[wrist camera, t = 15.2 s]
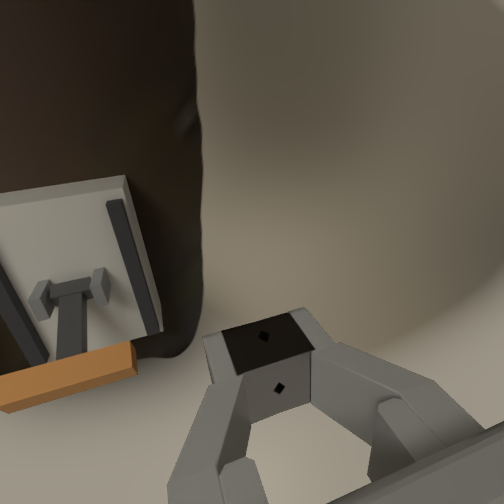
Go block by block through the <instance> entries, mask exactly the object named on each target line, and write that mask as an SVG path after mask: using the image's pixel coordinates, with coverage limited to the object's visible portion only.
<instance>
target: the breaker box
mask: <svg viewBox="0 0 504 504" xmlns="http://www.w3.org/2000/svg"><path fill="white" fill-rule="evenodd" d="M121 198H122V199H123V203H124V206H125V210H126V213H127V217H128V220H129V223H130V227H131V230H132V234H133V237H134V241H135V244H136V247H137V251H138V254H139V258H140V261H141V265H142V268H143V271H144V275H145V278H146V282H147V285H148V289H149V292H150V295H151V299H152V302H153V306H154V309H155V313H156V316H157V319H158V323H159V328H160V332H162V331H164V330H163V321H162V311H161V303H160V299H159V296H158V292H157V288H156V285H155V281H154V278H153V274H152V270H151V267H150V263H149V260H148V256H147V252H146V249H145V245H144V242H143V238H142V234H141V231H140V227H139V223H138V220H137V216H136V213H135V209H134V205H133V202H132V198H131V195H130V191H129V187H128V184H127V180H126V177H125V175H120V176H113V177H107V178H100V179H93V180H87V181H80V182H73V183H67V184H60V185H53V186H47V187H40V188H33V189H27V190H20V191H13V192H7V193H0V263H1V265H2V267H3V269H4V271H5V273H6V274H7V276H8V278H9V280H10V282H11V284H12V286H13V287H14V289H15V291H16V293H17V295H18V297H19V299H20V300H21V302H22V304H23V306H24V308H25V310H26V312H27V313H28V315H29V317H30V319H31V321H32V323H33V325H34V326H35V328H36V330H37V332H38V334H39V336H40V338H41V339H42V341H43V343H44V345H45V347H46V349H47V351H48V352H49V354H50V356H49V359H48V362H47V363H49V362H53V361H56V347H57V328H58V309H59V307H56V305H55V304H54V303H53V302H52V301H51V300H50V299H49V297H50V285H53V284H57V283H62V282H66V281H71V280H75V279H80V278H85V277H89V276H90V277H91V283H90V286H89V287H90V290H91V292H92V295H93V297H94V298H93V299H88V300H87V352H89V351H93V350H97V349H100V348H104V347H107V346H111V345H115V344H118V343H122V342H126V341H129V340H133V339H137V338H140V337H144V336H147V333H146V330H145V327H144V323H143V320H142V317H141V314H140V311H139V308H138V305H137V302H136V299H135V295H134V292H133V289H132V286H131V283H130V280H129V277H128V274H127V271H126V267H125V264H124V261H123V258H122V255H121V252H120V249H119V246H118V243H117V239H116V236H115V233H114V230H113V227H112V224H111V221H110V218H109V215H108V211H107V208H106V202H107V201H109V200H115V199H121Z"/></svg>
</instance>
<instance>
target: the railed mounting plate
mask: <svg viewBox="0 0 504 504" xmlns="http://www.w3.org/2000/svg"><path fill="white" fill-rule="evenodd" d="M106 208H107V211H108V215H109V218H110V221H111V224H112V227H113V230H114V233H115V236H116V239H117V243H118V246H119V249H120V252H121V255H122V258H123V261H124V264H125V267H126V271H127V274H128V277H129V280H130V283H131V286H132V289H133V292H134V295H135V299H136V302H137V305H138V308H139V311H140V314H141V317H142V320H143V323H144V327H145V330H146V333H147V336H151V335H154V334H158V333H160V328H159V323H158V319H157V316H156V313H155V309H154V306H153V302H152V299H151V295H150V292H149V289H148V285H147V282H146V278H145V275H144V271H143V268H142V265H141V261H140V258H139V254H138V251H137V247H136V244H135V241H134V237H133V234H132V230H131V227H130V223H129V220H128V217H127V213H126V210H125V206H124V203H123V199H122V198H121V199H115V200H109V201H107V202H106ZM0 315H1V316H2V318H3V320H4V321H5V323H6V325H7V326H8V328H9V330H10V332H11V333H12V335H13V337H14V338H15V340H16V342H17V343H18V345H19V347H20V348H21V350H22V352H23V354H24V355H25V357H26V359H27V360H28V362H29V364H30V365H31V367H35V366H38V365H42V364H45V363H47V362H48V359H49V356H50V354H49V352H48V351H47V349H46V347H45V345H44V343H43V341H42V339H41V338H40V336H39V334H38V332H37V330H36V328H35V326H34V325H33V323H32V321H31V319H30V317H29V315H28V313H27V312H26V310H25V308H24V306H23V304H22V302H21V300H20V299H19V297H18V295H17V293H16V291H15V289H14V287H13V286H12V284H11V282H10V280H9V278H8V276H7V274H6V273H5V271H4V269H3V267H2V265H1V263H0Z"/></svg>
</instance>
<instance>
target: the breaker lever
mask: <svg viewBox="0 0 504 504" xmlns="http://www.w3.org/2000/svg"><path fill="white" fill-rule="evenodd" d="M90 283H91V277H90V276H89V277H85V278H80V279H75V280H71V281H66V282H62V283H57V284H53V285H50V297H49V299H50V300H51V301H52V302H53V303H54V304H55V305H56V307H59V309H58V328H57V347H56V361H53V362H49V363H45V364H42V365H38V366H35V367H31V368H27V369H24V370H20V371H16V372H13V373H9V374H5V375H2V376H0V410H1V411H3V412H6V413H8V414H9V413H12V412H16V411H19V410H22V409H26V408H29V407H32V406H36V405H39V404H42V403H45V402H49V401H52V400H55V399H59V398H62V397H65V396H69V395H72V394H75V393H78V392H82V391H85V390H89V389H92V388H95V387H98V386H102V385H105V384H108V383H112V382H115V381H118V380H122V379H125V378H128V377H131V376H135V375H138V370H137V360H136V351H135V348H134V346H133V345H132V343H131V342H130V340H129V341H126V342H122V343H118V344H115V345H111V346H107V347H104V348H100V349H97V350H93V351H89V352H87V300H88V299H93V298H94V297H93V295H92V292H91V290H90V287H89V286H90Z"/></svg>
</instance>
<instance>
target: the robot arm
mask: <svg viewBox="0 0 504 504" xmlns="http://www.w3.org/2000/svg"><path fill="white" fill-rule="evenodd" d="M203 343H204V348H205V353H206V358H207V362H208V367H209V371H210V376H211V381H212V385H209V386H208V389H207V391H206V394H205V396H204V398H203V401H202V403H201V405H200V408H199V410H198V412H197V415H196V417H195V420H194V422H193V425H192V427H191V429H190V432H189V434H188V436H187V439H186V441H185V443H184V446H183V448H182V451H181V453H180V455H179V458H178V460H177V463H176V465H175V467H174V470H173V472H172V474H171V477H170V479H169V481H168V484H167V493H168V504H268V501H267V497H266V494H265V491H264V489H263V486H262V482H261V480H260V476H259V473H258V470H257V467H256V464H255V462H254V460H252V459H249V458H247V457H245V456H246V450H247V446H248V440H249V435H250V430H251V424H253V423H255V422H258V421H260V420H263V419H265V418H268V417H270V416H273V415H275V414H277V413H280V412H283V411H286V410H288V409H292V408H295V407H298V406H301V405H303V404H306V403H309V402H311V404H312V405H314V406H315V407H317V408H318V409H319V410H321V411H322V412H324V413H325V414H326V415H328V416H329V417H331V418H332V419H333V420H335V421H336V422H338V423H339V424H341V425H342V426H344V427H345V428H346V429H348V430H349V431H350V432H352V433H353V434H355V435H356V436H358V437H359V438H360V439H362V440H364V441H365V442H367V443H368V444H369V445H370V446H372V448H371V454H370V460H369V466H368V473H367V475H368V477H369V478H370V480H371V482H372V483H370V484H368V485H366V486H363V487H361V488H359V489H357V490H355V491H353V492H350V493H348V494H346V495H344V496H342V497H340V498H338V499H335V500H333V501H331V502H329V503H327V504H504V421H503V422H501V423H499V424H496V425H494V426H492V427H490V428H488V429H486V430H485V429H484V428H483V427H482V426H481V425H480V424H479V423H478V422H477V421H476V420H475V419H473V418H472V417H471V416H470V415H469V414H468V413H467V412H466V411H465V410H464V409H463V408H462V407H461V406H460V405H459V404H458V403H457V402H456V401H454V399H453V398H451V397H450V396H449V395H448V394H447V393H446V392H445V391H444V390H443V389H442V388H441V387H440V386H439V385H438V384H437V383H436V382H435V381H433V380H431V379H429V378H426V377H424V376H421V375H419V374H416V373H414V372H411V371H409V370H406V369H404V368H402V367H399V366H397V365H394V364H392V363H390V362H387V361H385V360H382V359H380V358H377V357H375V356H372V355H370V354H368V353H365V352H363V351H360V350H358V349H355V348H353V347H351V346H348V345H345V344H343V343H341V342H340V343H337V344H335V343H334V342H333V341H332V339H331V338H330V337H329V336H328V334H327V333H326V332H325V331H324V329H323V328H322V327H321V326H320V325H319V323H318V322H317V321H316V320H315V318H314V317H313V316H312V315H311V314H310V312H309V311H308V310H307V309H306V308H304V307H302V308H299V309H295V310H292V311H289V312H287V313H284V314H280V315H277V316H273V317H270V318H266V319H263V320H260V321H256V322H253V323H249V324H245V325H242V326H238V327H234V328H230V329H226V330H222V331H221V332H217V333H212V334H209V335H205V336H203Z"/></svg>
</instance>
